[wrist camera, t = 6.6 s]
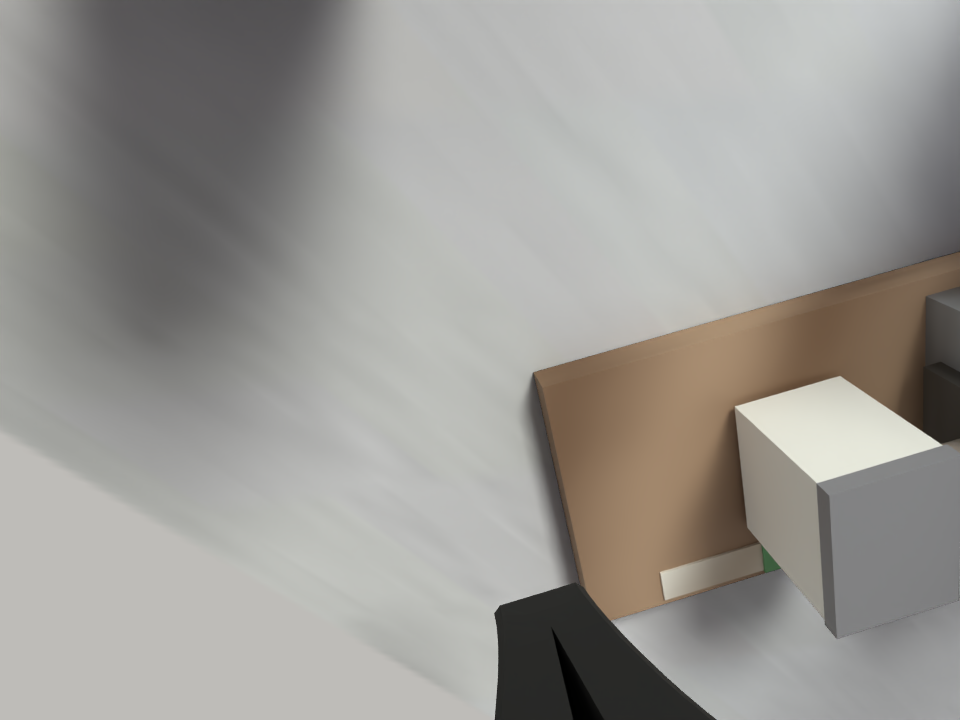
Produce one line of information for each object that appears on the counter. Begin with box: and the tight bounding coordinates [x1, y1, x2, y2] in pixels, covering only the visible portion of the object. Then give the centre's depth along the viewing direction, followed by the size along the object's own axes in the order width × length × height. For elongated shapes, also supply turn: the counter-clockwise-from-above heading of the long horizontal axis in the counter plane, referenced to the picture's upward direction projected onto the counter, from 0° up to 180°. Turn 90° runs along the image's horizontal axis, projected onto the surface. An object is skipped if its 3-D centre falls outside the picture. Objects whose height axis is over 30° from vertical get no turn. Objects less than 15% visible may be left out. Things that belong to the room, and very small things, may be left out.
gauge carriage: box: [735, 376, 960, 639], centre depth 20 cm, size 3×6×4 cm, turn 13°
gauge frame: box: [533, 252, 960, 621], centre depth 20 cm, size 14×8×6 cm, turn 103°
